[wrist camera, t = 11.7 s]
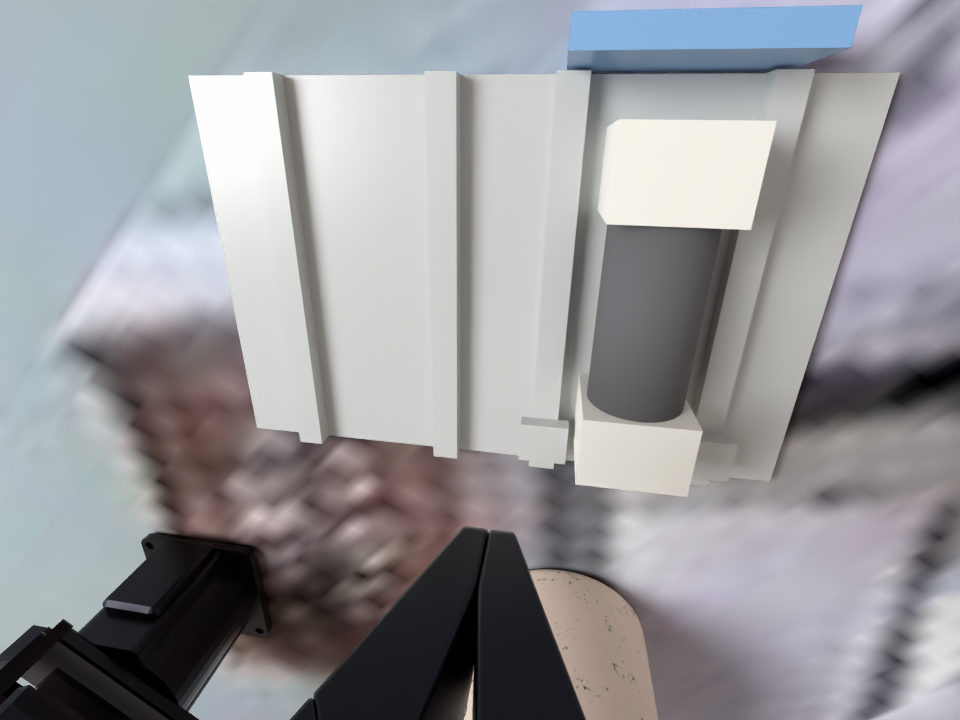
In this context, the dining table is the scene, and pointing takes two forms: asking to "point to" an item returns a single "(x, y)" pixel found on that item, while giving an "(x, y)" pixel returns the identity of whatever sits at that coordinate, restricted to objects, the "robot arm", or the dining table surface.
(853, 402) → the dining table surface
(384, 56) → the dining table surface
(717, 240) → the cream and grey dumbbell
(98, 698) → the robot arm
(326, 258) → the white ribbed plate
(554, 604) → the cream lidded jar
